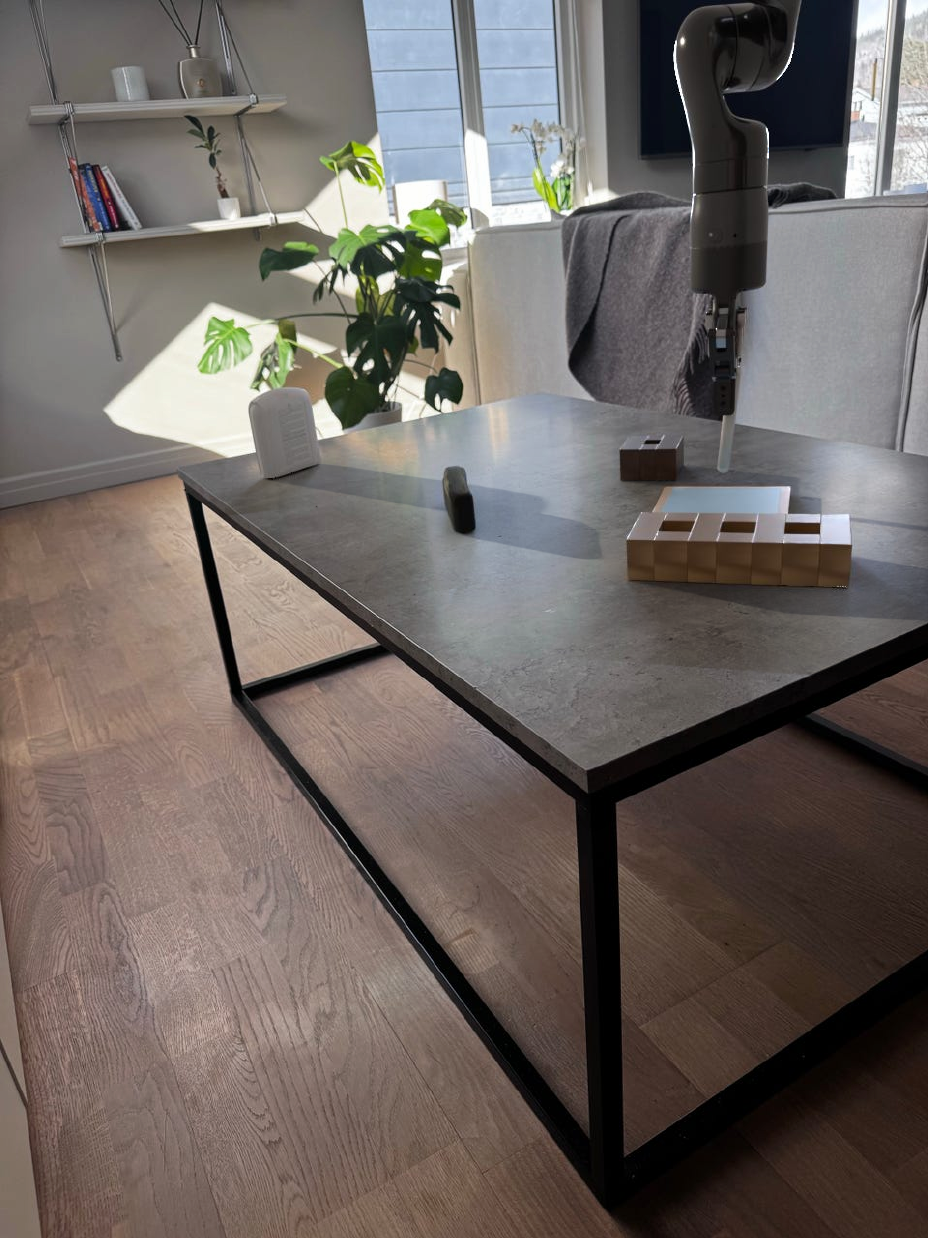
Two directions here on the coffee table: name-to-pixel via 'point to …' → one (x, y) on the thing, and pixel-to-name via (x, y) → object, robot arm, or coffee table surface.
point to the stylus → (728, 432)
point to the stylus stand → (652, 457)
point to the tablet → (724, 500)
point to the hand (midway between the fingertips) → (724, 412)
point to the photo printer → (284, 431)
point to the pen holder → (741, 548)
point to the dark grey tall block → (458, 499)
